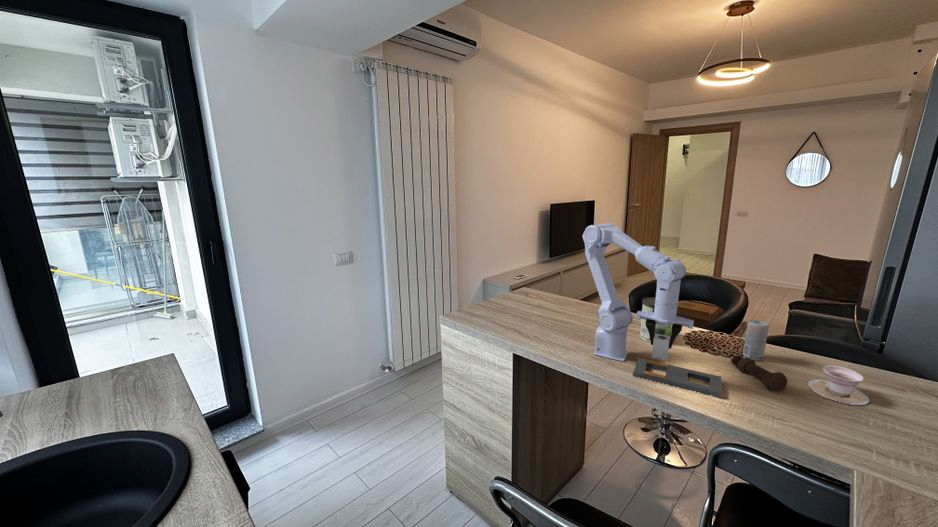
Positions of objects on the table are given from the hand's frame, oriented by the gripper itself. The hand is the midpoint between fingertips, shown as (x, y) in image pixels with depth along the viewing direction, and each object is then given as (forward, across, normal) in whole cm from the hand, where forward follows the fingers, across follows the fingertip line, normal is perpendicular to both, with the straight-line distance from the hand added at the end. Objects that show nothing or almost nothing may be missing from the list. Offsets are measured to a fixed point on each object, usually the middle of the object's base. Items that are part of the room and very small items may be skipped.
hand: (661, 345), depth 110 cm
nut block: (+3, 0, 0) cm, 3 cm away
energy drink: (+10, +25, +27) cm, 38 cm away
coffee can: (+10, -4, +27) cm, 29 cm away
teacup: (+10, +43, +14) cm, 46 cm away
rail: (+9, +5, 0) cm, 11 cm away
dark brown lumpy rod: (+10, +24, +13) cm, 29 cm away
